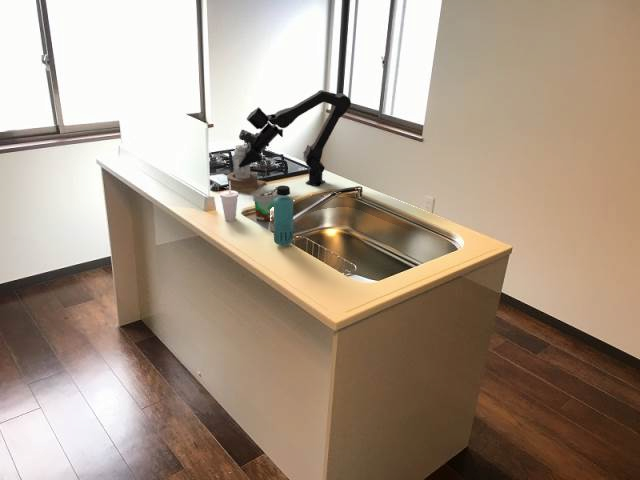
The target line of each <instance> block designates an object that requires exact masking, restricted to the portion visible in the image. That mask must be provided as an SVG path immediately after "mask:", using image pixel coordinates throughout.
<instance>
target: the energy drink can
mask: <svg viewBox="0 0 640 480" xmlns="http://www.w3.org/2000/svg"><path fill="white" fill-rule="evenodd" d="M234 148H235V149H234V153H233V155H234V172H235V174H236V178H237V179H247V178H250V172H251V164H249V165H247V166H244V167H241V168H240V167H239V164H240V163H241V161H242V160H243V158H244V157H245V156H246V151H247V150H248V146H246V145H244V144H240V145H239V144H238V145H236V146H235V147H234Z"/></svg>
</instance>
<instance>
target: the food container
mask: <svg viewBox="0 0 640 480" xmlns="http://www.w3.org/2000/svg"><path fill="white" fill-rule="evenodd" d="M277 187H278V186H275V189H273V190H272V189H271V190H270V191H264V192H263V193H262V194H259V195H256V194H254V195H253V200H252V201H253V202H254V210H255V217H256V221H258V222H262V223H269V222H270V209H271V208H272V207H274V202H273V201H274V199H275V198H276V197H277V196H280V195H278V194H277Z"/></svg>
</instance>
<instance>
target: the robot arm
mask: <svg viewBox="0 0 640 480" xmlns="http://www.w3.org/2000/svg"><path fill="white" fill-rule="evenodd" d="M323 103H325V104H329V105H330V110H329V114H328V116H327V118H326V119H325V122H324V123H323V125H322V127H321V129H320V131H319V133H318V135H317V136H316V138H315V141H314V142H313V143H312V144H311V146H310V144H308V145H306V148H305V150H304V152H303V156H302V158H303V161H304V163H305V164H306V166H307V167H308V168H309V169H308V180H307V181H305V184H306V185H312V186H316V187H321V186H322V185H323V184H325V183H326V180H324V179H323V172H324V171H325V168H326V166H324V164H323V163H322V161H321V160H322V156H323V150H324V148H325V146H326V145H327V142H328V140H329V139H330V136H331V135H332V133H333V131H334V130H335V127H336V126H337V123H338V122H339V120H340V118H341V117H343V116H344V115H345V114H346V112H347V111H349V108H351V104H352V103H351V99H350V98H349V97H348V95H346V94H344V93H342V92H339V93H334V92H330V91H325V90H323V89H320V90H318V91H317V92H316V93H314V94H312V95H311V96H309V97H307V98H306V99H304V100H301V102H299V103H297V104H295V105H293V106H291V107H287V108H284V109H281V110H278V111H276V112H275V113H274V114H273V113H272V114H266V113H265V112H264V111H263V110H262V108H260V107H259V106H257V108H255V109H254V110H252V111H251V112H250V113H249V115H247V117H246V121H247V122H249V123H250V124H251V125H252V126H253V127H254V128H255V129H256V130H260V131H259V132H256V133H253V132H249V131H247V130H245V129H240V130H241V131H240V133H239V135H238V139H239V140H241V141H244V143H243V145H246V146H248V150H247V151H246V156H245V157H244V158H243V160H242V161H241V163H240V164H239V167H240V168H241V167H244V166H247V165H249V164H250V165H251V164H254V163H258V164H260V163H261V162H262V161H263V155H262V154H263V151H264V149H265V148H266V147H269V146H270V143H272V141H273V140H274V139H275V138H276V137H277V136H278V135H279V136H280V137H281V138H283V137H284V130H283V129H285V128H288V127H289V126H290V125H291V124H293V122H294V121H296V120H297V118H298V117H300V116H302V115H303V114H304V113H305V114H306V113H307V112H308V111H310V110H312V109H313V108H316V106H319V105H320V104H323Z"/></svg>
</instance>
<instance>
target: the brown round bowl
mask: <svg viewBox="0 0 640 480" xmlns="http://www.w3.org/2000/svg"><path fill="white" fill-rule="evenodd" d="M226 176H227V179H226V180H227V181H228V184H229V181H230V185H231V190H233V191H236V192H238V193H239V194H240V193H241V194H244V195H245V194H246V195H251V193H253V192H254V191H256V190H258V189H259V188H261V187H263V186H265V185H266V184H267V181H264V180H261V179H260V180H259V179H258V173H256V172H254V171H250V178H247V179H237V178H236V174H235V171H232V172H230V173H228V174H227V175H226ZM227 181H226V182H227ZM224 188H225V189H226V190H225V189H224V190H225V191H227V190H229V186H227V187H224Z"/></svg>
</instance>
